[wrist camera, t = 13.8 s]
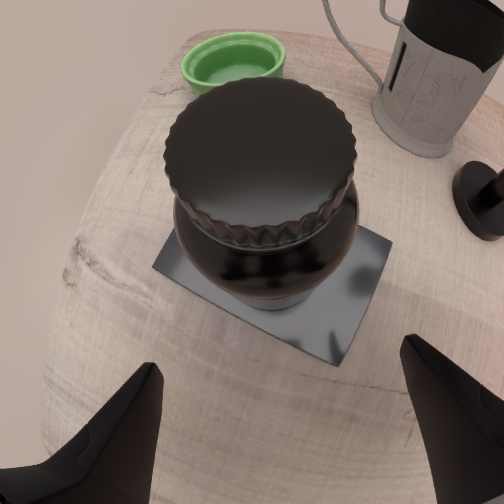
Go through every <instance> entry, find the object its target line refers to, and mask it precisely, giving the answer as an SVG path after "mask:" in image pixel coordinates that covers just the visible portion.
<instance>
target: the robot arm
mask: <svg viewBox="0 0 504 504" xmlns="http://www.w3.org/2000/svg"><path fill="white" fill-rule="evenodd" d="M400 358H401V362H402V366H403V371H404V375H405V379H406V384H407V388H408V392H409V395H410V398H411V401H412V404H413V407H414V410H415V414H416V417H417V420H418V423H419V427H420V430H421V434H422V437H423V441H424V445H425V448H426V452H427V456H428V460H429V464H430V469H431V473H432V477H433V483H434V488H435V493H436V498H437V504H504V401H503V400H502V399H500V398H499V397H497V396H496V395H495V394H493V393H492V392H491V391H489V390H488V389H487V388H486V387H484V386H483V385H482V384H480V383H479V382H478V381H477V380H475V379H474V378H473V377H472V376H470V375H469V374H468V373H467V372H465V371H464V370H463V369H462V368H460V367H459V366H458V365H456V364H455V363H454V362H452V361H451V360H450V359H449V358H447V357H446V356H445V355H443V354H442V353H441V352H439V351H438V350H437V349H436V348H434V347H433V346H432V345H430V344H429V343H428V342H426V341H425V340H424V339H422V338H421V337H420V336H418V335H417V334H410V335H406V336H405V337H404V339H403V343H402V345H401V348H400ZM163 385H164V378H163V375H162V373H161V371H160V370H159V368H158V366H157V365H156V364H155V363H153V362H145V363H143V364H142V365H141V366H140V367H139V368H138V370H137V371H136V372H135V373H134V374H133V375H132V376H131V377H130V378H129V379H128V380H127V381H126V382H125V383H124V384H123V385H122V387H121V388H120V389H119V390H118V391H117V392H116V393H115V394H114V395H113V396H112V397H111V398H110V399H109V400H108V401H107V403H106V404H105V405H104V406H103V407H102V408H101V409H100V410H99V411H98V412H97V413H96V414H95V415H94V416H93V417H92V419H91V420H90V421H89V422H88V424H86V425H85V426H84V427H83V428H82V429H81V430H80V431H79V432H78V433H77V434H76V435H75V436H74V437H73V438H72V439H71V440H70V441H69V442H68V443H67V444H65V445H64V446H63V447H62V448H61V449H60V450H58V451H57V452H56V453H55V454H54V455H52V456H51V457H50V458H49V459H48V460H46V461H45V462H43V463H40V464H37V465H32V466H25V467H16V468H7V469H0V504H149V498H150V489H151V481H152V474H153V466H154V459H155V453H156V446H157V440H158V434H159V428H160V422H161V415H162V400H163Z"/></svg>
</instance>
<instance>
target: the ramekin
mask: <svg viewBox="0 0 504 504" xmlns="http://www.w3.org/2000/svg"><path fill="white" fill-rule="evenodd" d="M285 58H286V52H285V48H284V46H283V45H282V44H281V43H280V42H279V41H278V40H276V39H275V38H273V37H271V36H268V35H265V34H261V33H254V32H236V33H228V34H223V35H220V36H216V37H213V38H211V39H208V40H206V41H204V42H202V43H200V44H198V45H197V46H195V47H194V48H193V49H192V50H190V51H189V52H188V53H187V55H186V56H185V57H184V59H183V61H182V63H181V72H182V75H183V77H184V78H185V79H186V81H187V82H188V83H189V84H190V85H191V87H192V89H193V91H194V93H195V95H196V97H197V98H198V97H199V96H200V95H201V94H203V93H206V92H208V91H210V90H211V89H212V88H213V87H216V86H220V85H223V84H225V83H227V82H229V81H236V80H240V79H242V78H255V77H259V76H263V77H280V78H282V74H283V65H284V62H285Z"/></svg>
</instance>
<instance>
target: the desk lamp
mask: <svg viewBox="0 0 504 504" xmlns="http://www.w3.org/2000/svg"><path fill="white" fill-rule="evenodd" d="M453 197H454V201H455V205H456V207H457V210H458V212H459V214H460V216H461V218H462V220H463V221H464V223H465V224H466V226H467V227H468V228H469V229H470V230H471V231H472V232H473V233H474V234H475V235H476V236H477V237H479V238H481V239H483V240H486V241H494V240H497V239H499V238H500V237H502V236H504V169H503V170H501V171H500V172H499V173H498V174H497V173H496V172H495V171H494V170H493V169H492V168H491V167H489V166H488V165H486V164H484V163H482V162H479V161H470V162H468V163H466V164H465V165H464V166H463V167H462V168H461V169H460V171H459V172H458V173H457V174H456V176H455V178H454V181H453Z"/></svg>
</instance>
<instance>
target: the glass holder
mask: <svg viewBox="0 0 504 504" xmlns="http://www.w3.org/2000/svg"><path fill="white" fill-rule="evenodd" d="M385 1H386V0H380V12H381V15H382V16H383V17H384V19H385V20H387V21H388V22H390V23H393V24H395V25H397V26H400V29H399V33H398V36H397V40H396V44H395V48H394V51H393V54H392V58H391V61H390V64H389V68H388V71H387V74H386V77H385V81H384V84H382V81H381V79H380V77H379V76H378V75H377V73H376V72H375V71H374V70H373V68H372V67H371V66H370V65H369V64H368V63H367V62H366V61H365V60H364V59H363V58H362V57H361V56H360V55H359V54H358V53H357V51H356V50H355V49H354V48H353V47H352V46H351V45H350V44H349V42H348V41H347V40H346V39H345V37H344V36H343V35H342V33H341V31H340V30H339V28H338V26H337V24H336V22H335V20H334V18H333V16H332V14H331V10H330V6H329V3H328V0H322V2H323V6H324V10H325V13H326V16H327V18H328V21H329V23H330V25H331V27H332V29H333V31H334V33H335V34H336V36H337V38H338V40H339V41H340V42H341V43H342V44H343V45H344V47H345V48H346V49H347V50H348V51H349V52H350V53H351V54H352V55H353V56H354V57H355V58H356V60H357V61H358V62H359V63H360V64H361V65H362V66H363V67H364V68H365V69H366V70H367V71H368V72H369V73H370V74H371V76H372V77H373V78H374V79H375V81H376V82H377V83H378V85H379V87H378V94H377V95H376V96H375V97H374V99H373V102H372V112H373V116H374V118H375V120H376V122H377V124H378V125H379V127H380V128H381V129H382V130H383V132H384V133H385V134H386V135H387V136H388V137H389V138H390V139H391V140H393V141H394V142H395V143H396V144H398V145H399V146H401V147H402V148H404V149H405V150H407V151H409V152H411V153H413V154H416V155H419V156H422V157H427V158H438V157H442V156H444V155H446V154H447V153H448V152H449V151H450V149H451V147H452V143H453V137H454V136H455V134H456V133H457V132H458V130H459V129H460V127H461V126H462V124H463V123H464V122H465V120H466V119H467V117H468V116H469V114H470V113H471V111H472V110H473V108H474V107H475V105H476V104H477V102H478V101H479V99H480V98H481V96H482V94H483V93H484V91H485V90H486V88H487V86H488V85H489V83H490V82H491V80H492V78H493V76H494V75H495V73H496V71H497V69H498V68H499V66H500V64H501V63H502V61H503V59H504V12H503V11H501V9H499V8H498V7H497V6H496V5H494V4H493V3H491V2H490V1H489V0H409V3H408V7H407V11H406V16H404V17H403V18H402V21H399V20H396V19H393V18H391V17H389V16H388V15H387V14H386V13H385Z"/></svg>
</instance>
